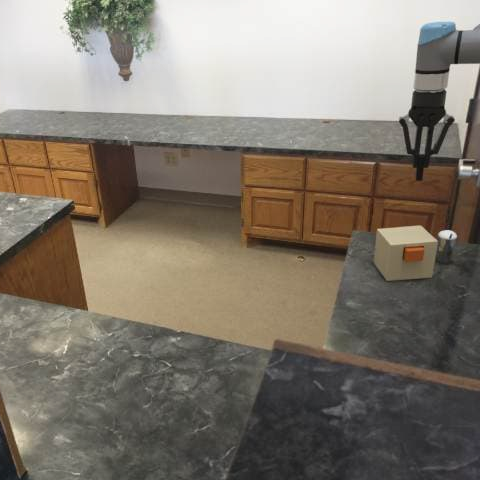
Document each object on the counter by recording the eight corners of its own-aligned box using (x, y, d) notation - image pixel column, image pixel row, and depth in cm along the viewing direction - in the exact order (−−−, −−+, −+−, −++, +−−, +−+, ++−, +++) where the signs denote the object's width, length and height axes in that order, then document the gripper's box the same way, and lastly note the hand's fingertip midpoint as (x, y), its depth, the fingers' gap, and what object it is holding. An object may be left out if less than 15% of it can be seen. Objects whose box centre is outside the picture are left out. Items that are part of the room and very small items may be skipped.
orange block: (419, 256, 135) (421, 246, 134) (423, 260, 133) (424, 249, 132) (402, 258, 135) (404, 247, 134) (406, 261, 134) (407, 251, 132)
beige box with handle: (416, 259, 146) (420, 225, 141) (432, 277, 137) (437, 241, 132) (373, 263, 147) (376, 228, 142) (387, 281, 138) (390, 245, 133)
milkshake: (437, 265, 142) (442, 233, 138) (432, 256, 147) (437, 225, 142) (455, 266, 141) (461, 234, 136) (450, 257, 145) (455, 225, 141)
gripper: (457, 85, 127) (444, 174, 138) (400, 87, 132) (391, 173, 142) (461, 91, 121) (447, 184, 132) (401, 93, 126) (392, 183, 136)
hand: (418, 178), depth 137 cm, fingers closed
